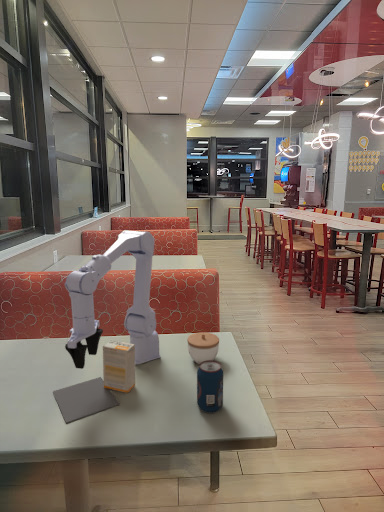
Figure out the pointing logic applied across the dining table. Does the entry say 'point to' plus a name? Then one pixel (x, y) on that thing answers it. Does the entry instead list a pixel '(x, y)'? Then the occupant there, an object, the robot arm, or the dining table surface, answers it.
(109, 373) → the supplement box
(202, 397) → the soda can
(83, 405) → the mat
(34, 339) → the dining table surface
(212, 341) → the lidded jar
